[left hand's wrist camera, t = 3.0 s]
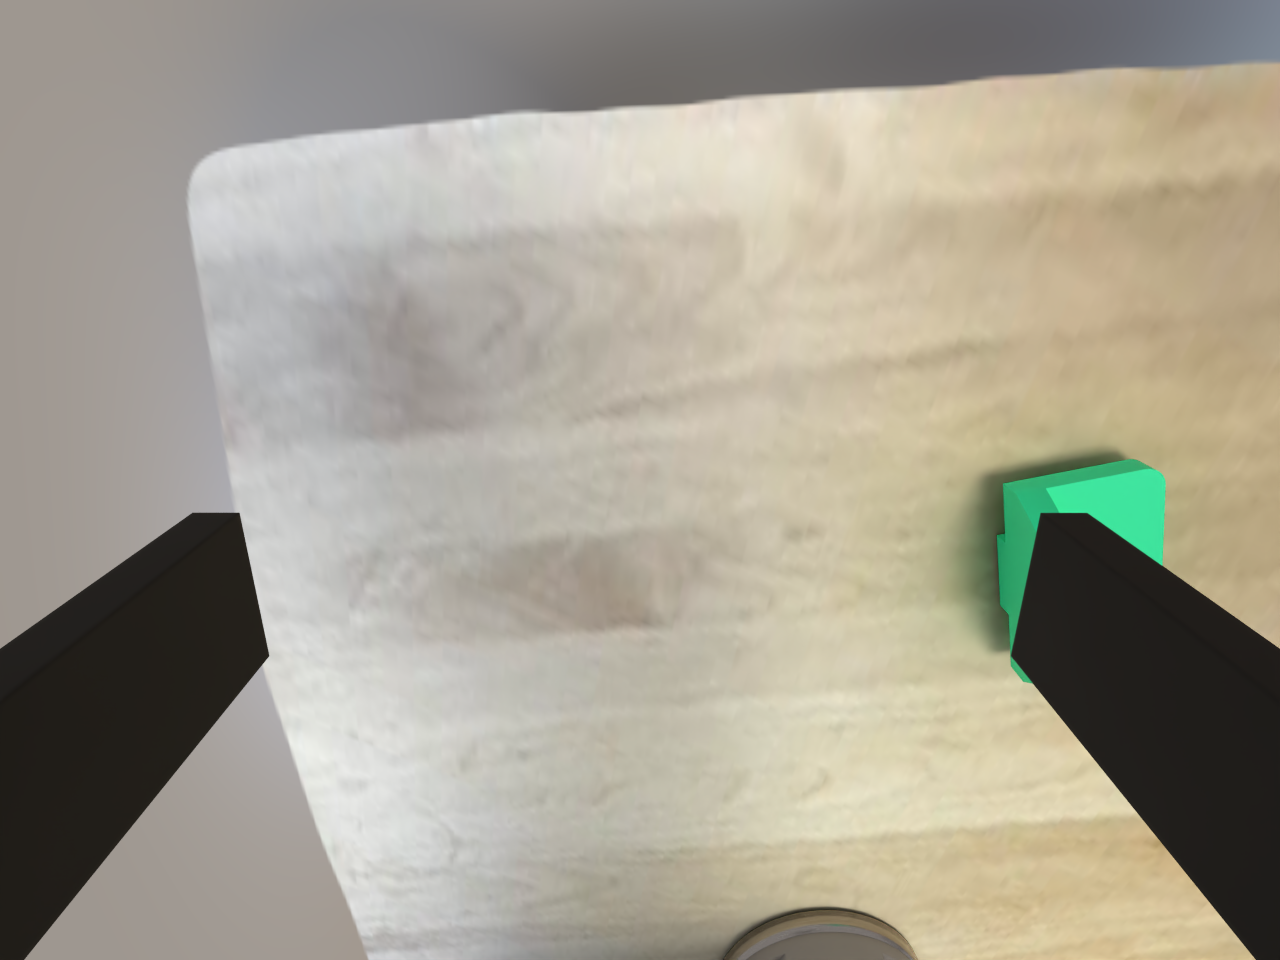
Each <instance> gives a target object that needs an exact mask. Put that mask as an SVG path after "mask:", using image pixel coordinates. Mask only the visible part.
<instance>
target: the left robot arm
mask: <svg viewBox="0 0 1280 960" xmlns="http://www.w3.org/2000/svg"><path fill="white" fill-rule="evenodd" d="M268 657H269V652H268V647H267V643H266V638H265V633H264V628H263V623H262V619H261V614H260V609H259V604H258V600H257V595H256V590H255V585H254V580H253V576H252V571H251V566H250V561H249V556H248V552H247V547H246V542H245V537H244V532H243V528H242V523H241V518H240V513H192V514H190V515H189V516H187V517H186V518H185V519H183V520H182V521H180V522H179V523H178V524H176V525H175V526H173V527H172V528H170V529H169V530H168V531H166V532H165V533H163V534H162V535H161V536H159V537H158V538H156V539H155V540H154V541H152V542H151V543H149V544H148V545H146V546H145V547H144V548H142V549H141V550H139V551H138V552H137V553H135V554H134V555H132V556H131V557H129V558H128V559H127V560H125V561H124V562H122V563H121V564H120V565H118V566H117V567H115V568H114V569H112V570H111V571H110V572H108V573H107V574H105V575H104V576H103V577H101V578H100V579H98V580H97V581H96V582H94V583H93V584H91V585H90V586H88V587H87V588H86V589H84V590H83V591H81V592H80V593H79V594H77V595H76V596H74V597H73V598H71V599H70V600H69V601H67V602H66V603H64V604H63V605H62V606H60V607H59V608H57V609H56V610H55V611H53V612H52V613H50V614H49V615H47V616H46V617H45V618H43V619H42V620H40V621H39V622H38V623H36V624H35V625H33V626H32V627H30V628H29V629H28V630H26V631H25V632H23V633H22V634H21V635H19V636H18V637H16V638H15V639H13V640H12V641H11V642H9V643H8V644H6V645H5V646H4V647H2V648H1V649H0V960H24V959H25V958H26V957H27V955H28V954H29V953H30V952H31V950H32V949H33V948H34V947H35V945H36V944H37V943H38V942H39V941H40V939H41V938H42V937H43V936H44V934H45V933H46V932H47V931H48V929H49V928H50V927H51V926H52V924H53V923H54V922H55V921H56V919H57V918H58V917H59V916H60V915H61V913H62V912H63V911H64V910H65V908H66V907H67V906H68V905H69V903H70V902H71V901H72V900H73V898H74V897H75V896H76V895H77V893H78V892H79V891H80V890H81V889H82V887H83V886H84V885H85V884H86V882H87V881H88V880H89V879H90V877H91V876H92V875H93V874H94V872H95V871H96V870H97V869H98V867H99V866H100V865H101V864H102V862H103V861H104V860H105V859H106V858H107V856H108V855H109V854H110V852H111V851H112V850H113V849H114V848H115V846H116V845H117V844H118V843H119V841H120V840H121V839H122V838H123V836H124V835H125V834H126V833H127V832H128V830H129V829H130V828H131V827H132V825H133V824H134V823H135V822H136V820H137V819H138V818H139V817H140V815H141V814H142V813H143V812H144V810H145V809H146V808H147V807H148V806H149V804H150V803H151V802H152V801H153V799H154V798H155V797H156V796H157V794H158V793H159V792H160V791H161V789H162V788H163V787H164V786H165V784H166V783H167V782H168V781H169V779H170V778H171V777H172V776H173V774H174V773H175V772H176V771H177V770H178V768H179V767H180V766H181V765H182V763H183V762H184V761H185V760H186V758H187V757H188V756H189V755H190V753H191V752H192V751H193V750H194V749H195V747H196V746H197V745H198V744H199V742H200V741H201V740H202V739H203V737H204V736H205V735H206V734H207V732H208V731H209V730H210V729H211V727H212V726H213V725H214V724H215V723H216V721H217V720H218V719H219V717H220V716H221V715H222V714H223V713H224V711H225V710H226V709H227V708H228V706H229V705H230V704H231V703H232V701H233V700H234V699H235V698H236V696H237V695H238V694H239V693H240V692H241V690H242V689H243V688H244V687H245V685H246V684H247V683H248V682H249V680H250V679H251V678H252V677H253V675H254V674H255V673H256V672H257V670H258V669H259V668H260V667H261V666H262V664H263V663H264V662H265V661H266V659H267V658H268ZM1011 657H1012V658H1013V659H1014V661H1015V662H1016V663H1017V664H1018V666H1019V667H1020V668H1021V669H1022V670H1023V672H1024V673H1025V674H1026V675H1027V677H1028V678H1029V679H1030V680H1031V682H1032V683H1033V684H1034V685H1035V687H1036V688H1037V689H1038V690H1039V692H1040V693H1041V694H1042V695H1043V697H1044V698H1045V699H1046V700H1047V701H1048V703H1049V704H1050V705H1051V706H1052V708H1053V709H1054V710H1055V711H1056V713H1057V714H1058V715H1059V716H1060V718H1061V719H1062V720H1063V721H1064V723H1065V724H1066V725H1067V726H1068V727H1069V729H1070V730H1071V731H1072V732H1073V734H1074V735H1075V736H1076V737H1077V739H1078V740H1079V741H1080V742H1081V744H1082V745H1083V746H1084V747H1085V749H1086V750H1087V751H1088V752H1089V753H1090V755H1091V756H1092V757H1093V758H1094V760H1095V761H1096V762H1097V763H1098V765H1099V766H1100V767H1101V768H1102V770H1103V771H1104V772H1105V773H1106V775H1107V776H1108V777H1109V778H1110V780H1111V781H1112V782H1113V783H1114V784H1115V786H1116V787H1117V788H1118V789H1119V791H1120V792H1121V793H1122V794H1123V796H1124V797H1125V798H1126V799H1127V801H1128V802H1129V803H1130V804H1131V806H1132V807H1133V808H1134V809H1135V810H1136V812H1137V813H1138V814H1139V815H1140V817H1141V818H1142V819H1143V820H1144V822H1145V823H1146V824H1147V825H1148V827H1149V828H1150V829H1151V830H1152V832H1153V833H1154V834H1155V835H1156V836H1157V838H1158V839H1159V840H1160V841H1161V843H1162V844H1163V845H1164V846H1165V848H1166V849H1167V850H1168V851H1169V853H1170V854H1171V855H1172V856H1173V858H1174V859H1175V860H1176V861H1177V863H1178V864H1179V865H1180V866H1181V867H1182V869H1183V870H1184V871H1185V872H1186V874H1187V875H1188V876H1189V877H1190V879H1191V880H1192V881H1193V882H1194V884H1195V885H1196V886H1197V887H1198V889H1199V890H1200V891H1201V892H1202V893H1203V895H1204V896H1205V897H1206V898H1207V900H1208V901H1209V902H1210V903H1211V905H1212V906H1213V907H1214V908H1215V910H1216V911H1217V912H1218V913H1219V915H1220V916H1221V917H1222V918H1223V919H1224V921H1225V922H1226V923H1227V924H1228V926H1229V927H1230V928H1231V929H1232V931H1233V932H1234V933H1235V934H1236V936H1237V937H1238V938H1239V939H1240V941H1241V942H1242V943H1243V944H1244V946H1245V947H1246V948H1247V949H1248V950H1249V952H1250V953H1251V954H1252V955H1253V957H1254V958H1255V959H1256V960H1280V649H1279V648H1278V647H1276V646H1275V645H1274V644H1272V643H1271V642H1269V641H1268V640H1267V639H1265V638H1264V637H1262V636H1261V635H1260V634H1258V633H1257V632H1255V631H1254V630H1252V629H1251V628H1250V627H1248V626H1247V625H1245V624H1244V623H1243V622H1241V621H1240V620H1238V619H1237V618H1235V617H1234V616H1233V615H1231V614H1230V613H1228V612H1227V611H1226V610H1224V609H1223V608H1221V607H1220V606H1218V605H1217V604H1216V603H1214V602H1213V601H1211V600H1210V599H1209V598H1207V597H1206V596H1204V595H1203V594H1201V593H1200V592H1199V591H1197V590H1196V589H1194V588H1193V587H1192V586H1190V585H1189V584H1187V583H1186V582H1185V581H1183V580H1182V579H1180V578H1179V577H1177V576H1176V575H1175V574H1173V573H1172V572H1170V571H1169V570H1168V569H1166V568H1165V567H1163V566H1162V565H1160V564H1159V563H1158V562H1156V561H1155V560H1153V559H1152V558H1151V557H1149V556H1148V555H1146V554H1145V553H1143V552H1142V551H1141V550H1139V549H1138V548H1136V547H1135V546H1134V545H1132V544H1131V543H1129V542H1128V541H1127V540H1125V539H1124V538H1122V537H1121V536H1119V535H1118V534H1117V533H1115V532H1114V531H1112V530H1111V529H1110V528H1108V527H1107V526H1105V525H1104V524H1102V523H1101V522H1100V521H1098V520H1097V519H1095V518H1094V517H1093V516H1091V515H1090V514H1088V513H1040V518H1039V523H1038V528H1037V532H1036V537H1035V542H1034V547H1033V552H1032V556H1031V561H1030V566H1029V571H1028V576H1027V580H1026V585H1025V590H1024V595H1023V600H1022V604H1021V609H1020V614H1019V619H1018V623H1017V628H1016V633H1015V638H1014V643H1013V647H1012V652H1011ZM724 960H917V957H916V955H915V953H914V951H913V949H912V948H911V946H910V945H909V943H908V942H907V941H906V940H905V939H904V938H903V937H902V936H901V935H900V934H899V933H898V932H897V931H895V930H894V929H893V928H891V927H890V926H888V925H886V924H884V923H883V922H880V921H878V920H876V919H874V918H871V917H868V916H865V915H861V914H857V913H852V912H847V911H838V910H815V911H806V912H800V913H795V914H791V915H787V916H783V917H780V918H777V919H775V920H772V921H770V922H767V923H765V924H763V925H761V926H759V927H757V928H756V929H754V930H753V931H751V932H749V933H748V934H747V935H745V936H744V937H743V938H741V939H740V940H739V941H738V942H737V943H736V944H735V945H734V946H733V947H732V948H731V949H730V951H729V952H728V953H727V955H726V956H725V958H724Z"/></svg>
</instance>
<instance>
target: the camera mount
mask: <svg viewBox="0 0 1280 960" xmlns="http://www.w3.org/2000/svg"><path fill="white" fill-rule="evenodd" d="M1165 485H1166V483H1165V478H1164V476H1163V475H1162V474H1161V473H1160V472H1159V471H1157V470H1155V469H1153V468H1151V467H1149V466H1147V465H1146V464H1144V463H1142V462H1140V461H1138V460H1134V459H1128V460H1122V461H1117V462H1112V463H1107V464H1101V465H1096V466H1091V467H1086V468H1081V469H1076V470H1070V471H1065V472H1060V473H1055V474H1050V475H1044V476H1039V477H1034V478H1029V479H1024V480H1019V481H1013V482H1008V483H1003V496H1004V519H1005V534H1000V535H997V549H998V570H999V591H1000V605H1001V607H1002V608H1003V609H1004V610H1005V611H1006V612H1007V613H1008V615H1009V634H1010V657H1011V652H1012V647H1013V643H1014V638H1015V633H1016V628H1017V623H1018V619H1019V614H1020V609H1021V604H1022V600H1023V595H1024V590H1025V585H1026V580H1027V576H1028V571H1029V566H1030V561H1031V556H1032V552H1033V547H1034V542H1035V537H1036V532H1037V528H1038V523H1039V518H1040V513H1088V514H1090V515H1091V516H1093V517H1094V518H1095V519H1097V520H1098V521H1100V522H1101V523H1102V524H1104V525H1105V526H1107V527H1108V528H1110V529H1111V530H1112V531H1114V532H1115V533H1117V534H1118V535H1119V536H1121V537H1122V538H1124V539H1125V540H1127V541H1128V542H1129V543H1131V544H1132V545H1134V546H1135V547H1136V548H1138V549H1139V550H1141V551H1142V552H1143V553H1145V554H1146V555H1148V556H1149V557H1151V558H1152V559H1153V560H1155V561H1156V562H1158V563H1159V564H1160V565H1162V561H1163V536H1164V511H1165ZM1011 667H1012V668H1013V669H1014V671H1015V672H1016V673H1017V674H1018V676H1019V677H1020V678H1021V679H1022V681H1023V682H1028V683H1032V682H1031V680H1030V679H1029V678H1028V677H1027V675H1026V674H1025V673H1024V672H1023V670H1022V669H1021V668H1020V667H1019V666H1018V664H1017V663H1016V662H1015V661H1014V659H1013V658H1012V657H1011ZM1032 684H1033V683H1032Z"/></svg>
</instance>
